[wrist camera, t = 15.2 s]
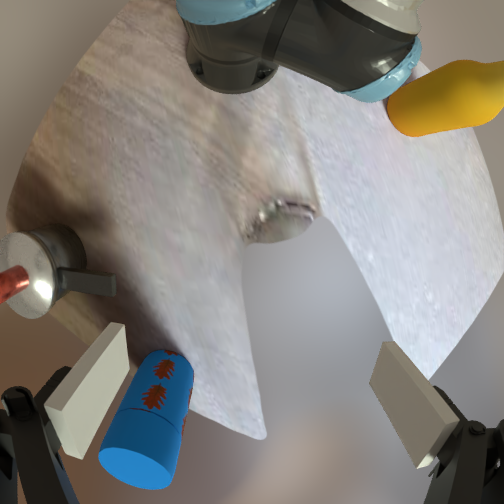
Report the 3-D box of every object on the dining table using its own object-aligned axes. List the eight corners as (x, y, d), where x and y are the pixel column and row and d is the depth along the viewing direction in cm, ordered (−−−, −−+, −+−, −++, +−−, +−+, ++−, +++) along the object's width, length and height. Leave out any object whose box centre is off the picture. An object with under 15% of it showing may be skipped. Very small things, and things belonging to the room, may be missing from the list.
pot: (32, 220, 46) (-4, 229, 35) (135, 226, 47) (108, 239, 36) (37, 287, 49) (6, 306, 38) (136, 303, 50) (113, 332, 39)
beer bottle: (432, 109, 43) (549, 79, 15) (417, 147, 45) (545, 136, 16) (395, 79, 42) (504, 21, 13) (377, 118, 43) (498, 73, 15)
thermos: (198, 356, 52) (175, 461, 28) (191, 397, 55) (171, 496, 31) (143, 343, 52) (92, 436, 27) (141, 384, 54) (101, 475, 30)
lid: (-4, 228, 35) (-47, 242, 25) (53, 233, 36) (7, 250, 25) (6, 307, 38) (-30, 331, 28) (62, 322, 39) (27, 354, 28)
